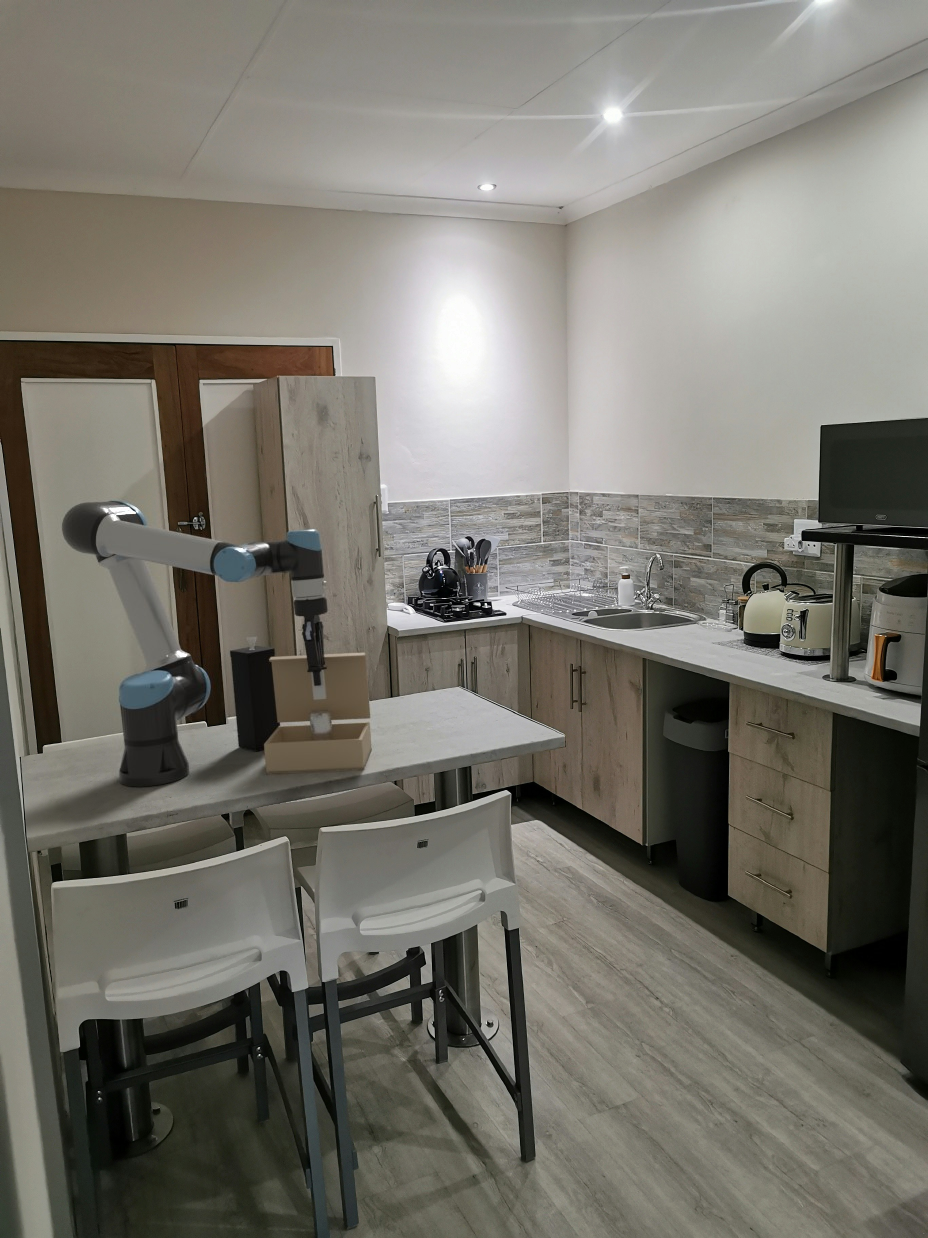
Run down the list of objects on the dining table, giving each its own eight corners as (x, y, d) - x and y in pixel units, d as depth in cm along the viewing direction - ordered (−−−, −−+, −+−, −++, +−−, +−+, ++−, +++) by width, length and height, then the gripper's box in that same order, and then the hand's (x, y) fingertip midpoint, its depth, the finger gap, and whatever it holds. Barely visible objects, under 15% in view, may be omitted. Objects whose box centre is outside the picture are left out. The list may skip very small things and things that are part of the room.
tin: (310, 758, 216) (307, 715, 215) (314, 752, 221) (311, 710, 220) (332, 757, 216) (329, 714, 215) (335, 751, 221) (332, 709, 219)
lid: (269, 659, 216) (271, 656, 219) (275, 725, 220) (278, 722, 222) (364, 655, 216) (365, 652, 218) (369, 721, 219) (370, 717, 222)
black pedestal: (282, 744, 231) (273, 635, 228) (256, 752, 226) (246, 639, 222) (264, 740, 237) (255, 632, 233) (238, 747, 231) (228, 637, 227)
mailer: (266, 774, 207) (264, 744, 206) (281, 754, 223) (279, 725, 222) (363, 769, 207) (361, 739, 206) (371, 749, 223) (369, 721, 222)
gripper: (320, 599, 204) (331, 703, 206) (330, 593, 216) (340, 691, 219) (287, 601, 204) (298, 705, 207) (299, 596, 217) (309, 694, 219)
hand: (320, 698), depth 213 cm, fingers closed
